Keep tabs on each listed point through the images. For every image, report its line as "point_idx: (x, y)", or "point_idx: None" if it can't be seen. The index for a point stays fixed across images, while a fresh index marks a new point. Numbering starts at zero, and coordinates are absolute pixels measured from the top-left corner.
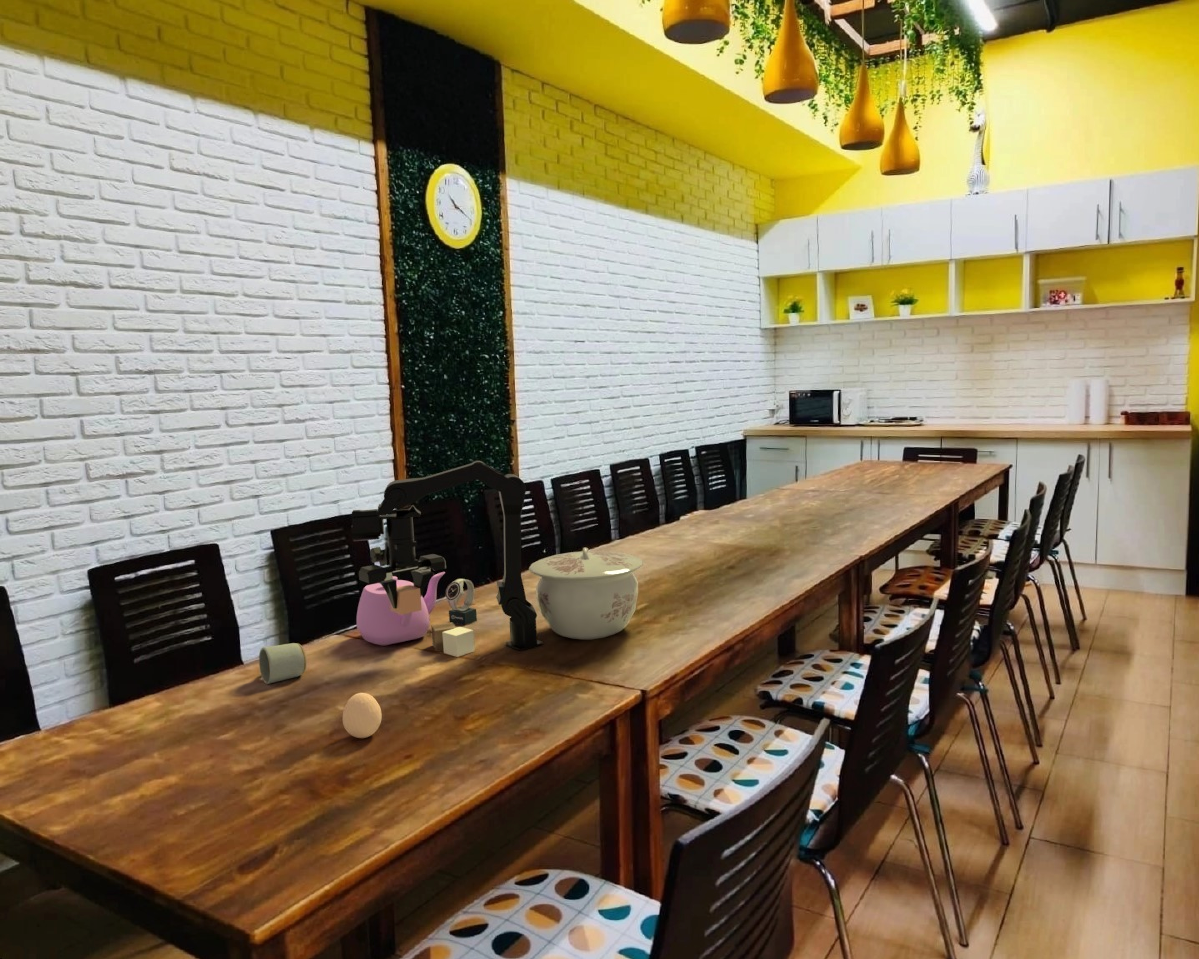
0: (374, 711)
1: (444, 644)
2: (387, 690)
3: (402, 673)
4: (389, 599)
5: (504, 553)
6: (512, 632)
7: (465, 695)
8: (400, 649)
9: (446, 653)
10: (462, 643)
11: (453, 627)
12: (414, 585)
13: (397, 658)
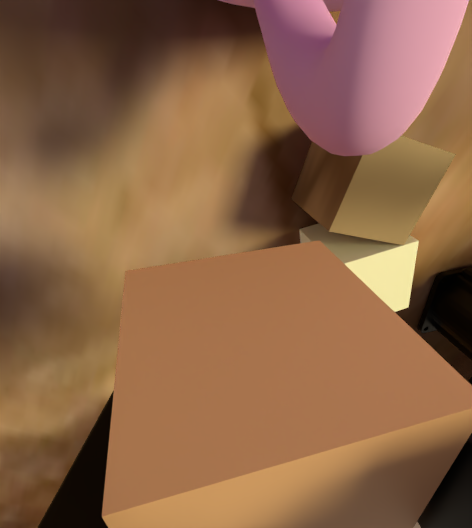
0: None
1: None
2: (46, 417)
3: (116, 331)
4: (83, 448)
5: None
6: (463, 326)
7: None
8: (195, 56)
9: (300, 241)
10: None
11: (400, 234)
12: (468, 466)
13: (143, 180)
